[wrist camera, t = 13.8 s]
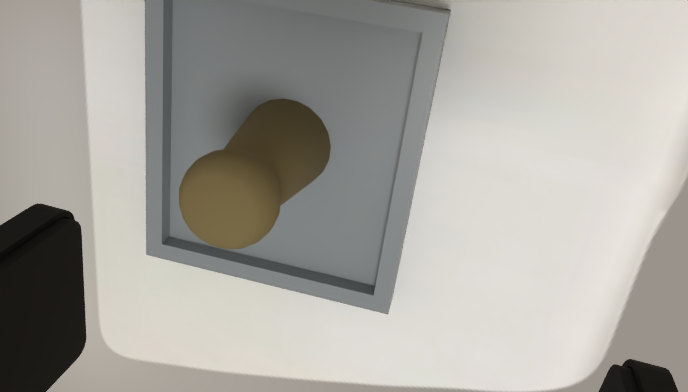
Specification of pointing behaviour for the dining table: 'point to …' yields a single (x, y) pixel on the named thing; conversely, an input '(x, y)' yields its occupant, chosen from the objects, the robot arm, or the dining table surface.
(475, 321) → the dining table surface
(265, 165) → the brown pawn
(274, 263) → the slate tray
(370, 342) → the dining table surface
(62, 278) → the robot arm
